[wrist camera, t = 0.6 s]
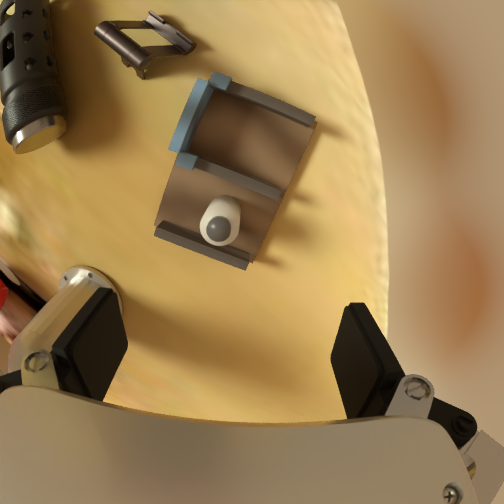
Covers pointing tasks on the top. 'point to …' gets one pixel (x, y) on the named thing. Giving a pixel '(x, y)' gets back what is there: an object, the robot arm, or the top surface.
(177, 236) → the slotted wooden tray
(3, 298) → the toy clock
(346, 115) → the top surface
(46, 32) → the muzzle brake
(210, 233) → the cream plastic cylinder
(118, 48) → the portable electronic device stand
